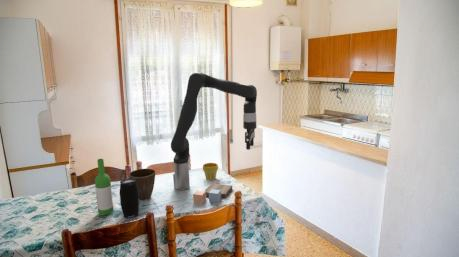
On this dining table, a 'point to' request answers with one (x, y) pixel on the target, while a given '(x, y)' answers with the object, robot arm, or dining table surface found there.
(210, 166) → the plant pot
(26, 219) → the dining table surface
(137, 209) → the portable speaker
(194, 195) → the terracotta block
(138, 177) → the plant pot
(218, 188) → the walnut board
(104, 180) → the wine bottle
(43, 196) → the dining table surface
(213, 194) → the slate blue block
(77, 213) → the dining table surface
